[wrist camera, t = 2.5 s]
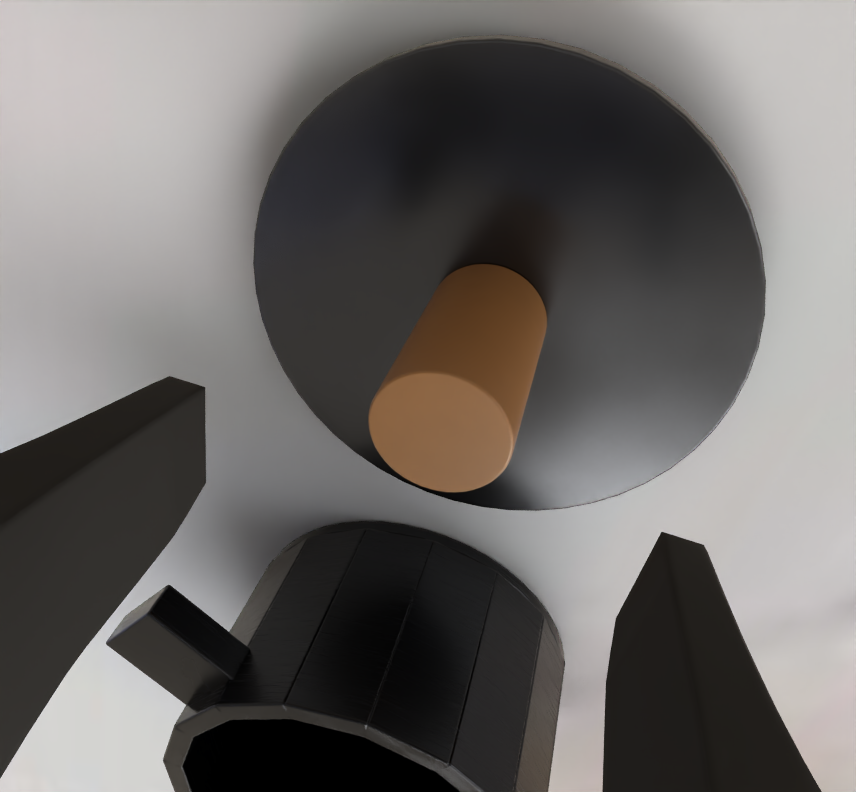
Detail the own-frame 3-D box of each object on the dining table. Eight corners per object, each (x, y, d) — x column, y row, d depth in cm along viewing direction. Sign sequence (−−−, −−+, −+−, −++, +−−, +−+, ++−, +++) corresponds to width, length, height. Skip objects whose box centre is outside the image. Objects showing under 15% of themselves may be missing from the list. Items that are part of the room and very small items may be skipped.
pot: (460, 796, 30) (417, 983, 25) (152, 547, 26) (26, 708, 21) (684, 733, 24) (689, 961, 19) (332, 402, 20) (219, 575, 15)
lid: (486, 541, 22) (440, 707, 17) (190, 263, 19) (46, 376, 15) (871, 336, 16) (953, 513, 11) (515, -120, 13) (435, -124, 8)
